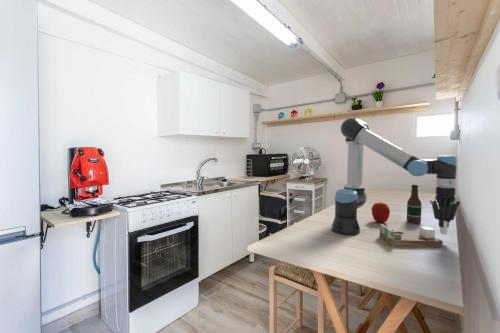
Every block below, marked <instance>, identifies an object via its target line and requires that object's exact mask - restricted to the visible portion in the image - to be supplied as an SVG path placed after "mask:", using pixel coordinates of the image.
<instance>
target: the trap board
mask: <svg viewBox="0 0 500 333" xmlns="http://www.w3.org/2000/svg"><path fill="white" fill-rule="evenodd" d="M379 238H381V239H382V240H383V241H385V242H386V243H388V244H389V245H390V246H391V247H407V248H408V247H410V248H411V247H413V248H443V245H444V244H443V243H444V242H443V240H441V239H440V238H438V237H436V236H435V238H425V237H423V236H421V235H420V231H402V230H401V231H396V230H395V229H393V228H392V229H391V228H390V227H388V226H386V225H384V223H379Z"/></svg>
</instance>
